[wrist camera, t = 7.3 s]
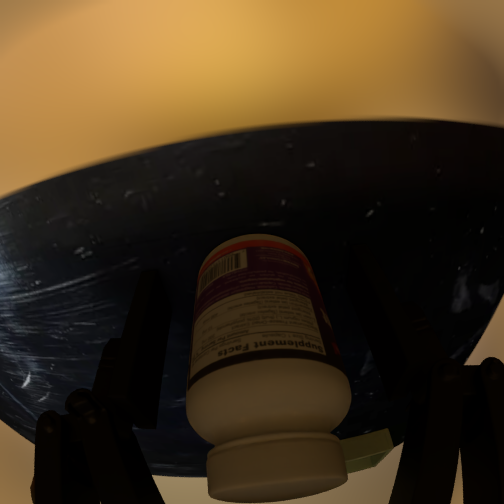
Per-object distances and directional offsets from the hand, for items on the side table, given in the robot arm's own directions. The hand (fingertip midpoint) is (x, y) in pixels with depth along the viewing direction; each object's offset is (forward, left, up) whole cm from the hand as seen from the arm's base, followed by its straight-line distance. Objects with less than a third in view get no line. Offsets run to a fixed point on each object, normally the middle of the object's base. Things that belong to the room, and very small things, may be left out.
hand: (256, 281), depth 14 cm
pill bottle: (0, 0, 0) cm, 0 cm away
